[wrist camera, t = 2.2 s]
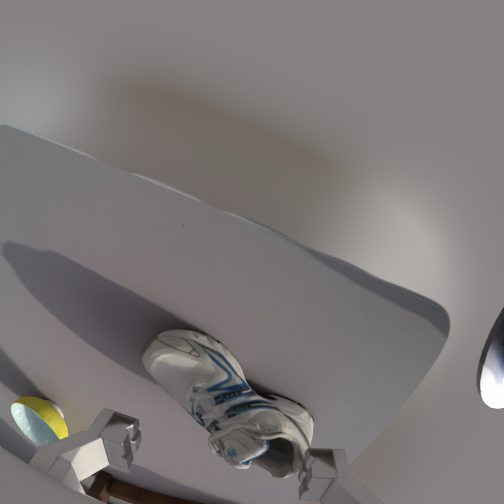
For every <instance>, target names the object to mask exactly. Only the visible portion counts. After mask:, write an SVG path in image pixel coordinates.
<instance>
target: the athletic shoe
mask: <svg viewBox="0 0 504 504" xmlns="http://www.w3.org/2000/svg"><path fill="white" fill-rule="evenodd" d="M141 355H142V361H143V365H144V367H145V368H146V370H147V372H148V373H149V374H150V375H151V376H152V377H153V378H154V380H155V381H156V382H157V383H158V384H159V385H160V386H161V387H162V389H163V390H164V391H165V392H166V393H168V394H169V395H170V396H171V397H172V398H173V399H175V400H176V401H177V402H178V403H179V404H180V405H181V406H182V407H183V408H184V409H185V410H186V411H187V412H188V413H189V414H190V415H191V416H192V417H193V418H194V419H195V420H196V421H197V422H198V423H199V424H200V425H202V426H203V427H205V428H206V430H207V431H208V432H210V434H211V435H210V437H209V444H208V445H209V447H210V449H211V451H212V452H213V453H214V454H215V455H217V456H220V457H223V458H224V459H225V461H226V462H227V463H229V464H230V465H232V466H234V467H235V468H237V469H247V468H248V467H249V466H250V464H254V465H257V466H259V467H262V468H264V469H266V470H267V471H269V472H270V473H271V474H272V476H273V477H275V478H287V477H289V476H292V475H294V474H297V473H298V470H299V465H300V463H301V460H302V459H304V458H305V455H304V453H305V451H306V449H307V448H311V446H310V445H311V440H312V434H313V431H312V430H313V421H314V420H313V416H309V415H308V413H307V410H306V408H305V407H303V406H302V405H301V404H300V403H296V402H295V401H293V400H291V399H288V398H285V397H279V396H277V395H271V394H263V395H257V393H256V392H255V391H254V390H253V389H252V388H251V387H250V386H249V385H248V384H247V382H246V379H245V377H244V374H243V371H242V369H241V367H240V365H239V362H238V360H236V358H235V357H234V356H233V355H232V354H230V352H229V350H228V349H227V348H226V347H225V346H224V345H223V344H222V343H218V342H217V341H216V340H215V339H214V338H212V337H211V336H209V335H207V334H205V335H202V334H201V333H200V332H198V331H192V330H191V331H188V330H186V329H168V330H165V331H161V332H158V333H157V334H156V335H155V336H154V337H153V338H152V339H151V340H150V341H148V342H147V344H146V345H145V346H144V348H143V351H142V354H141ZM213 443H214V444H216V445H217V447H218V448H219V451H217V450H216V448H215V446H214V445H213Z"/></svg>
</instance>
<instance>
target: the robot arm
mask: <svg viewBox="0 0 504 504" xmlns="http://www.w3.org/2000/svg"><path fill="white" fill-rule="evenodd" d="M139 425H140V424H139V420H138V419H136V418H133V417H130V416H127V415H124V414H121V413H118V412H116V411H113V410H110V409H107V408H104V409H103V410H102V411H101V412H100V414H99V415H98V417H97V418H96V419H95V421H94V422H93V424H92V425H91V427H90V428H89V430H88V431H82V432H79V433H76V434H74V435H71V436H68V437H65V438H63V439H60V440H57V441H54V442H51V443H49V444H46V445H43V446H41V447H40V448H39V450H38V451H37V452H36V454H35V455H34V456H33V458H32V459H31V460H30V461H29V463H28V464H27V463H25V462H24V461H22V460H21V459H19V458H17V457H16V456H14V455H13V454H11V453H10V452H8V451H7V450H5V449H4V448H2V447H1V446H0V504H108V503H105V502H103V501H100V500H98V499H95V498H93V497H91V496H88V495H86V494H85V492H84V490H83V488H82V486H81V484H80V481H81V480H83V479H85V478H87V477H89V476H90V475H92V474H94V473H96V472H97V471H99V470H101V469H102V468H104V467H106V466H108V465H109V463H110V464H113V465H116V466H119V467H122V468H125V469H129V467H130V465H131V463H132V461H133V454H132V453H134V452H136V451H137V450H138V448H139V445H140V441H141V432H140V431H139V430H138V427H139ZM304 455H305V458H304V459H302V460H301V463H300V465H299V470H298V480H299V481H300V482H301V484H300V486H299V500H315V501H320V503H321V504H383V503H382V502H381V501H380V500H379V499H377V498H376V497H375V496H374V495H373V494H372V493H371V492H369V491H368V490H367V489H366V488H365V487H364V486H363V485H361V484H360V483H359V482H358V481H357V480H356V479H355V478H351V477H350V473H349V468H348V463H347V459H346V454H345V450H344V449H318V448H307V449H306V451H305V453H304Z"/></svg>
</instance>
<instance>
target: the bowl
mask: <svg viewBox="0 0 504 504" xmlns="http://www.w3.org/2000/svg"><path fill="white" fill-rule="evenodd" d="M11 413H12V416H13V418H14V420H15V422H16V423H17V425H18V426H19V428H20V429H21V430H22V432H23V433H24V434H25V435H26V436H27V437H28V438H29V439H30V440H31V441H32V442H34V443H35V444H36V445H37V446H39V447H41V446H43V445H46V444H49V443H51V442H54V441H57V440H60V439H63V438H65V437H68V430H67V427H66V424H65V422H64V420H63V418H64V416H63V413H62V411H61V410H60V408H59V407H58V406H57V405H56V404H55V403H53V402H52V401H50V400H42V399H39V398H37V397H22V398H19V399H17V400H16V401H14V402H13V403H12V404H11Z"/></svg>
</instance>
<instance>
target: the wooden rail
mask: <svg viewBox="0 0 504 504" xmlns="http://www.w3.org/2000/svg"><path fill="white" fill-rule="evenodd" d="M89 492H90V494H91V496H92V497H93V498H95V499H98V500H100V501H103V502H105V503H107V501H108V499H109V497H110V496H113V497H116V498H118V499H121V500H124V501H127V502H130V503H133V504H202V503H197V502H192V501H188V500H183V499H179V498H175V497H171V496H167V495H163V494H159V493H156V492H152V491H149V490H146V489H142V488H139V487H136V486H133V485H130V484H127V483H124V482H121V481H118V480H116V479H113V478H112V476H111V474H109V473H106V472H104V471H101V470H100V471H99V473H98V475H97V476H96V478H95V480H94V482H93V484H92V486H91V488H90V489H89Z"/></svg>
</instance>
